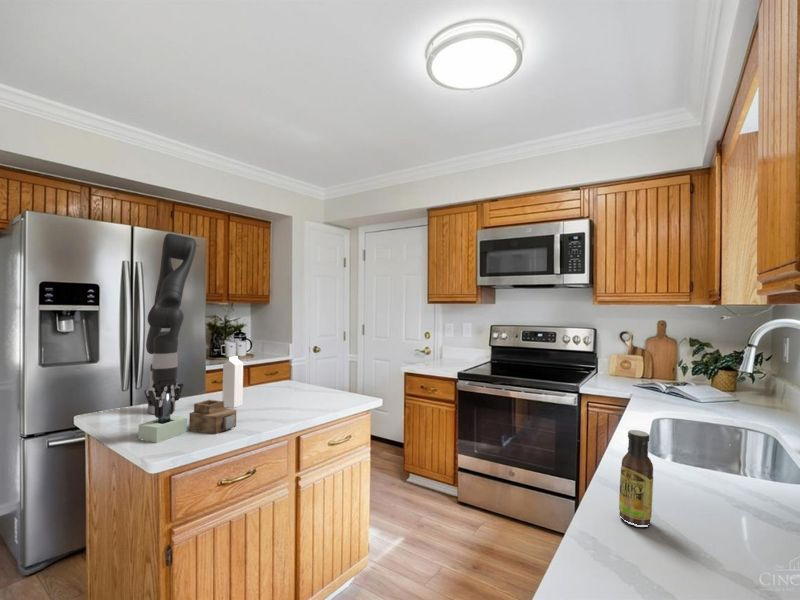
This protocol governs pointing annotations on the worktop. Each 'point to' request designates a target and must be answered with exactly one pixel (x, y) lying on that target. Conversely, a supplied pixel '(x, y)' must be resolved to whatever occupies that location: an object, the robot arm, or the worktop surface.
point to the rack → (162, 429)
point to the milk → (233, 382)
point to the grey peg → (165, 409)
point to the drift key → (228, 421)
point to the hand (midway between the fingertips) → (164, 415)
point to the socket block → (209, 416)
